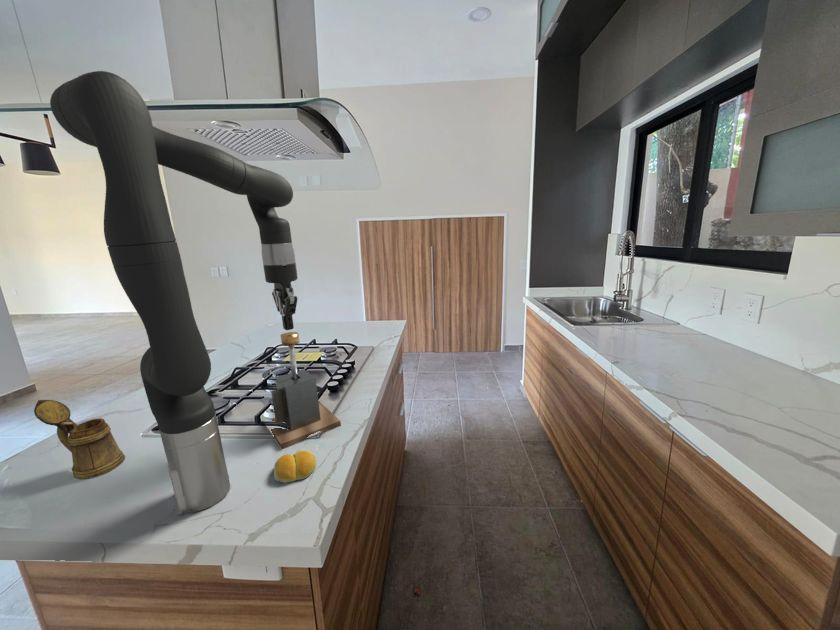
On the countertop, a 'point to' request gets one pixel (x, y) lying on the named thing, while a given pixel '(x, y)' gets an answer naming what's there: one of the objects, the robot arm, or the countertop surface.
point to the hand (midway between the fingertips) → (288, 329)
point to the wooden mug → (82, 440)
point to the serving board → (305, 429)
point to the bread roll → (294, 466)
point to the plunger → (291, 349)
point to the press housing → (296, 400)
